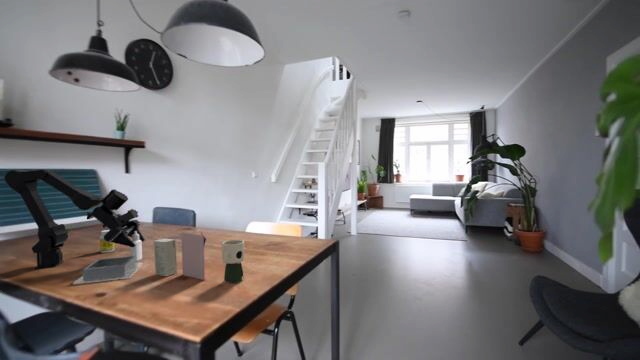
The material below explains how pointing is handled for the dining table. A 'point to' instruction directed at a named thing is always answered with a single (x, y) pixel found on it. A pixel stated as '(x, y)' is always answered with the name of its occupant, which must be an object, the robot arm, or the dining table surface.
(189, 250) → the greeting card
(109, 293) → the dining table surface
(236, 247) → the character mug
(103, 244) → the supplement bottle
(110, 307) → the dining table surface
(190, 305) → the dining table surface
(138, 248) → the eye dropper bottle
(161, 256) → the skincare box
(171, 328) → the dining table surface
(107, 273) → the flat grey tray
